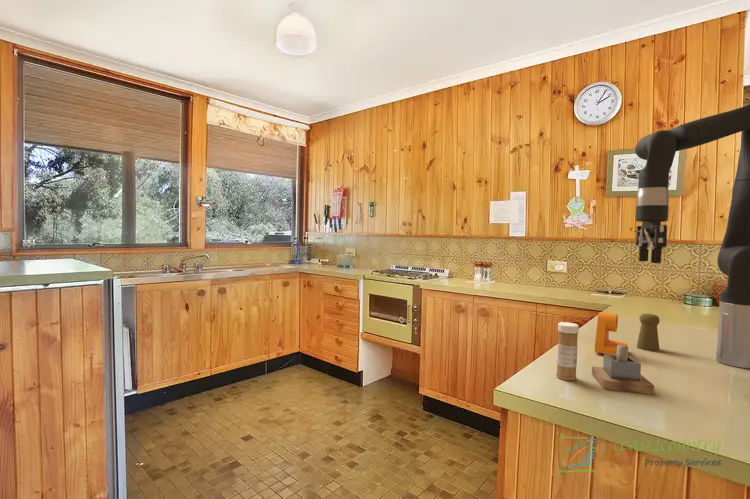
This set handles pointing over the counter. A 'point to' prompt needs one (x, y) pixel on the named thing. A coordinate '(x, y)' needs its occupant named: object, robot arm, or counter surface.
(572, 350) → the sprinkles bottle
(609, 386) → the wooden peg stand
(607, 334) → the bracket
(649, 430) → the counter surface
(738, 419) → the counter surface
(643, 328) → the olive pawn shape
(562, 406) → the counter surface
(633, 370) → the collar
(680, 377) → the counter surface
